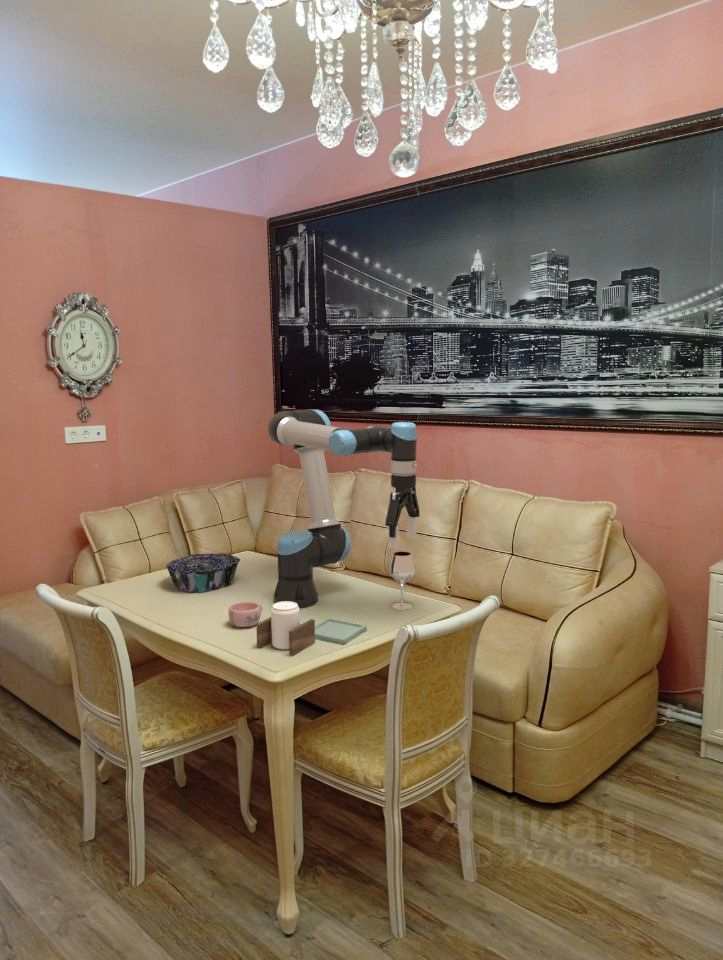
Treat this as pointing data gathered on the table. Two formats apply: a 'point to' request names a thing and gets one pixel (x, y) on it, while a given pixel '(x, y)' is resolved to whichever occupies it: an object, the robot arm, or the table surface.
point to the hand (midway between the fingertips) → (402, 542)
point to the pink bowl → (244, 614)
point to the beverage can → (283, 622)
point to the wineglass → (402, 574)
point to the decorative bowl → (203, 571)
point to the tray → (338, 631)
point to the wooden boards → (297, 636)
